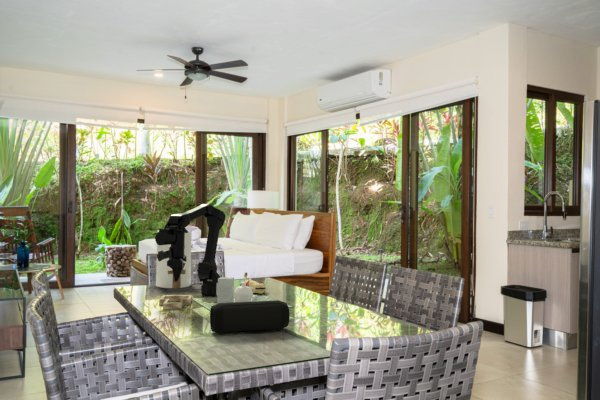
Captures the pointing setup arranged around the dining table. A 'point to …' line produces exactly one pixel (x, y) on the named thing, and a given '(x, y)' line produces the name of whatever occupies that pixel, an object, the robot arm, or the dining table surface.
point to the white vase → (243, 293)
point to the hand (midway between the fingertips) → (176, 280)
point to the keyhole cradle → (181, 298)
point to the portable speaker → (249, 316)
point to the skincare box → (225, 290)
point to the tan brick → (178, 283)
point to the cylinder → (162, 269)
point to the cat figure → (255, 285)
